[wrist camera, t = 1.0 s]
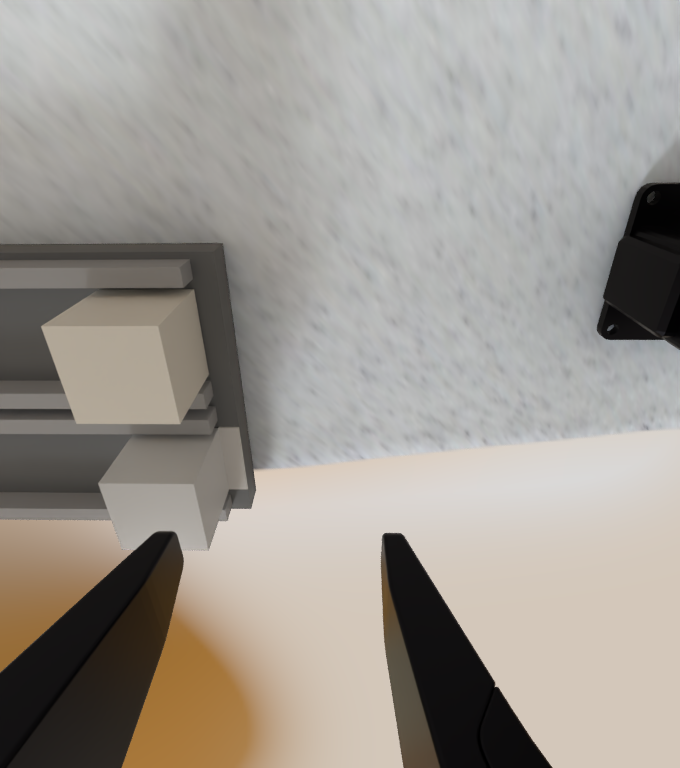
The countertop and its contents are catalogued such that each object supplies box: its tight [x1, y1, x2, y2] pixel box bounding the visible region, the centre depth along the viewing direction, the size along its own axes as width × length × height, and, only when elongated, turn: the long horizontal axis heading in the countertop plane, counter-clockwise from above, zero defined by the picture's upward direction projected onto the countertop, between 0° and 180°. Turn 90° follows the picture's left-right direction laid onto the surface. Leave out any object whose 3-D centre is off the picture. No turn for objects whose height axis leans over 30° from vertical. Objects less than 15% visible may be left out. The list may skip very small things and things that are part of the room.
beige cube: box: [41, 289, 209, 424], centre depth 18 cm, size 4×4×4 cm
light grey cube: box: [98, 428, 229, 550], centre depth 21 cm, size 4×4×4 cm
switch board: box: [0, 243, 256, 521], centre depth 22 cm, size 16×14×3 cm
